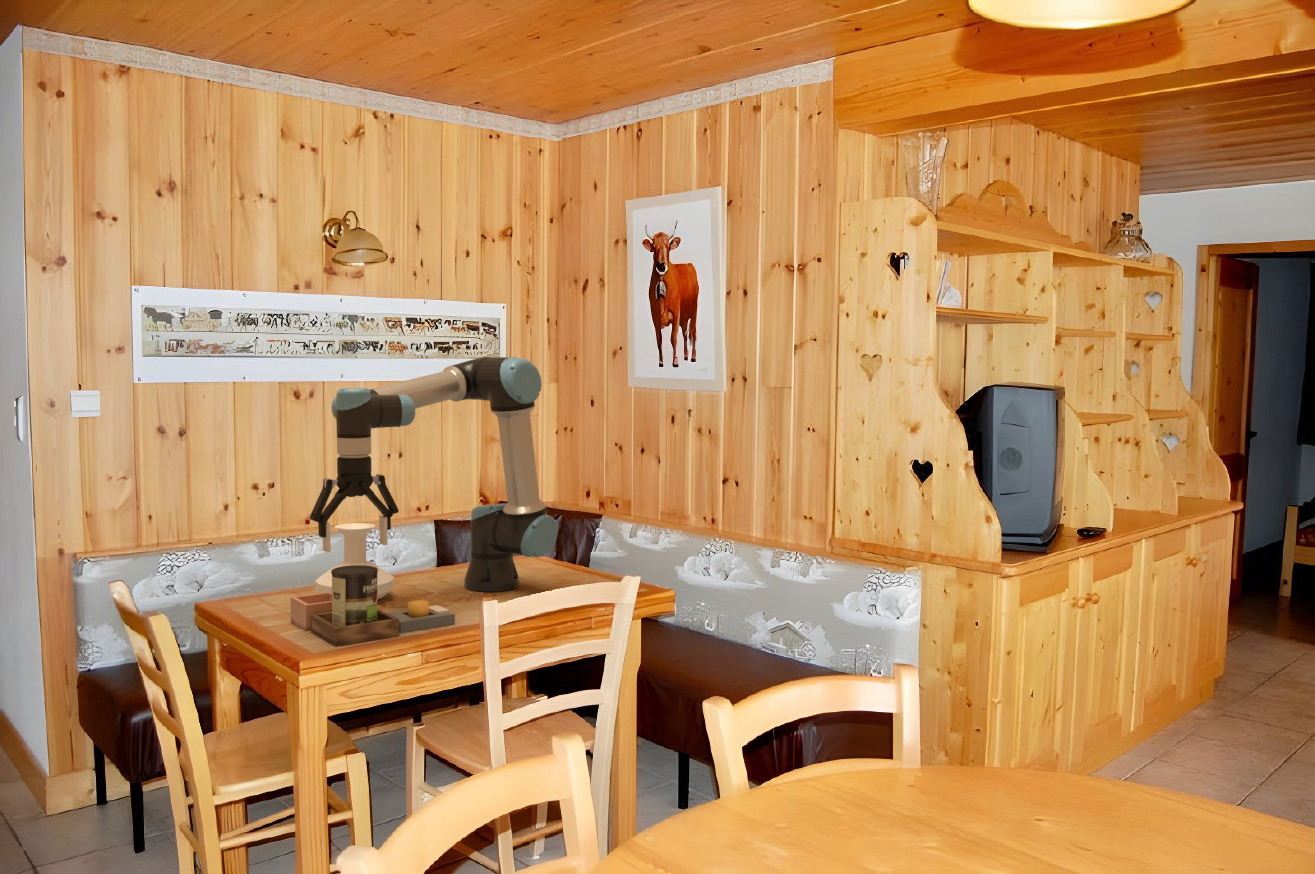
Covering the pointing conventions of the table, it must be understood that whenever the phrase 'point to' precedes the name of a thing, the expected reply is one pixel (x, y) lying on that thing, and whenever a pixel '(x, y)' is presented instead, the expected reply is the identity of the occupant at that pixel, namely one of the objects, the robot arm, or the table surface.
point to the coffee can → (354, 595)
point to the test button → (418, 608)
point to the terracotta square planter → (309, 608)
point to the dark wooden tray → (354, 629)
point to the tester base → (424, 619)
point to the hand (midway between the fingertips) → (355, 547)
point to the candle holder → (356, 559)
